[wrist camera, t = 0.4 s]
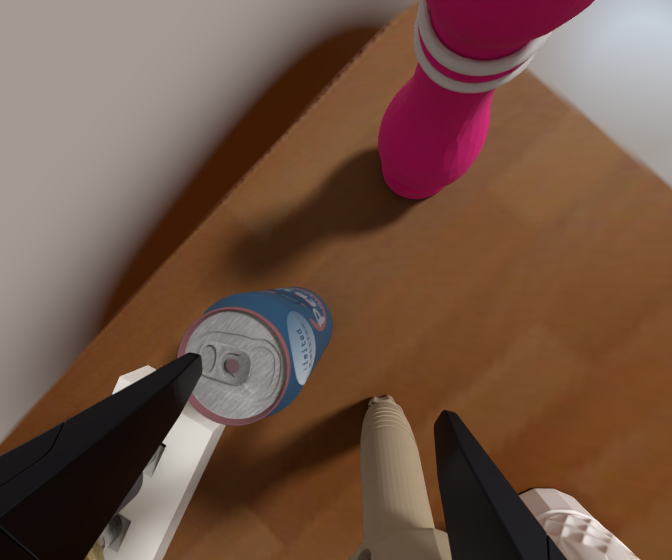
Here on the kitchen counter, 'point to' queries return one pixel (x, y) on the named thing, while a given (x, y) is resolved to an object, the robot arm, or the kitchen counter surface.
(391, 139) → the pepper mill
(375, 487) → the handle
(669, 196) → the kitchen counter surface
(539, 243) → the kitchen counter surface
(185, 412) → the control plate
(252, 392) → the soda can
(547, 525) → the white cup
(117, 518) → the knob middle
